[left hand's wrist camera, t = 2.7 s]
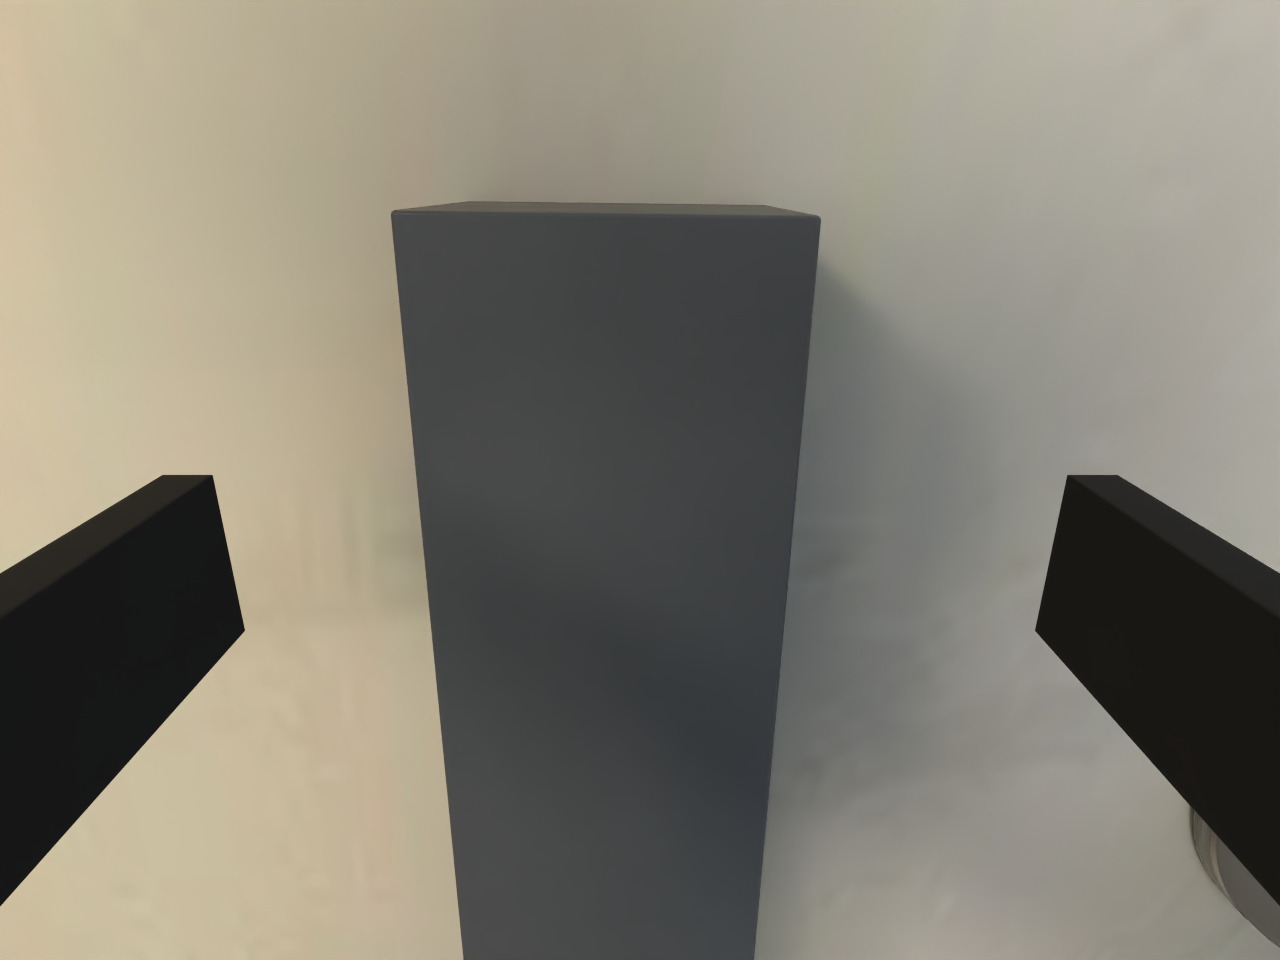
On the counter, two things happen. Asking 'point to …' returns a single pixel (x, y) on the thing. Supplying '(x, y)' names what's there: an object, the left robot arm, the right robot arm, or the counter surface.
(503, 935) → the long dark grey beam
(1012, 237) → the counter surface
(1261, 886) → the right robot arm
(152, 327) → the counter surface
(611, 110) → the counter surface
